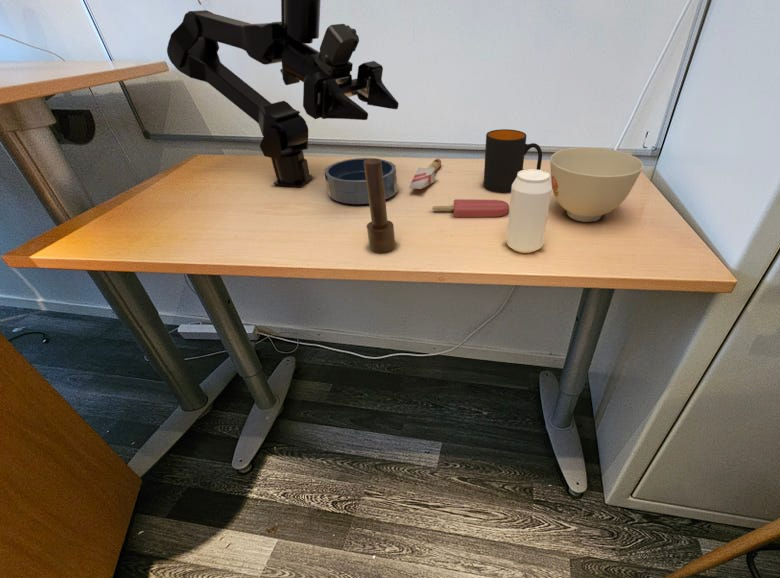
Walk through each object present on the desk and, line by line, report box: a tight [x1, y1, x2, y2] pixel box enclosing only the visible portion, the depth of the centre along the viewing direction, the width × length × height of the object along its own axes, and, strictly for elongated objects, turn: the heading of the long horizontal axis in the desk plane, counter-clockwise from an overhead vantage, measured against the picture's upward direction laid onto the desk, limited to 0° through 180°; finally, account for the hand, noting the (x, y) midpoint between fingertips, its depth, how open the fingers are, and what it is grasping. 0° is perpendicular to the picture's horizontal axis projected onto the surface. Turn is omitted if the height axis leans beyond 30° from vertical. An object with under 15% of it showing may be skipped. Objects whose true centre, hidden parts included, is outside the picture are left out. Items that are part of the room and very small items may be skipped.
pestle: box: [364, 157, 396, 254], centre depth 66 cm, size 4×4×14 cm
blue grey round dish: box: [323, 157, 398, 205], centre depth 88 cm, size 15×15×5 cm
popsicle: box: [432, 198, 510, 218], centre depth 81 cm, size 5×2×15 cm
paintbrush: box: [408, 158, 442, 190], centre depth 94 cm, size 4×3×20 cm
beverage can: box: [506, 168, 553, 254], centre depth 67 cm, size 6×6×12 cm
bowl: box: [549, 147, 644, 223], centre depth 77 cm, size 16×16×10 cm
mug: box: [483, 128, 543, 194], centre depth 88 cm, size 8×12×10 cm
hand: (383, 111), depth 73 cm, fingers open, 9 cm apart
